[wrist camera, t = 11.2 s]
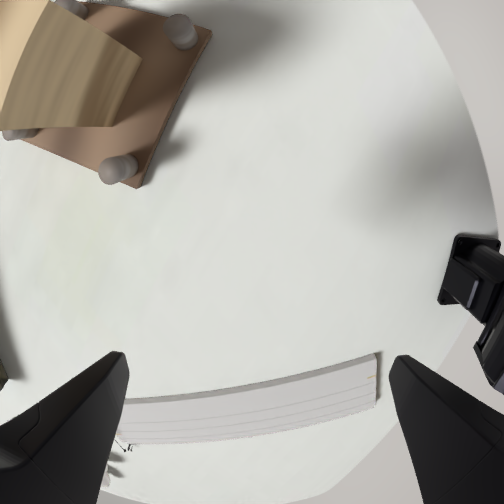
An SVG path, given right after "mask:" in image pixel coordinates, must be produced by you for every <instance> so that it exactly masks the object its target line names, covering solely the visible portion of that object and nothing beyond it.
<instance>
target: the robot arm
mask: <svg viewBox="0 0 504 504" xmlns="http://www.w3.org/2000/svg"><path fill="white" fill-rule="evenodd" d="M459 240H460V242H459ZM458 242H459V243H458ZM500 246H501V242H500V241H499V240H498V239H492V238H483V237H474V236H464V235H457V236H456V237H455V238H454V242H453V246H452V250H451V254H450V258H449V262H448V265H447V269H446V273H445V276H444V279H443V283H442V286H441V289H440V293H439V296H438V299H437V301H438V302H439V303H440V304H441V305H450V304H461V305H462V306H463V307H464V308H465V309H466V310H468V311H469V312H470V313H471V314H472V315H473V316H474V317H475V318H476V319H477V320H478V321H479V322H480V323H482V324H483V325H484V326H485V328H484V330H483V332H482V333H481V335H480V337H479V339H478V341H477V342H476V343H475V345H474V347H473V348H474V350H475V352H476V354H477V357H478V359H479V361H480V364H481V366H482V369H483V371H484V373H485V376H486V378H487V380H488V382H489V384H490V385H491V386H492V387H493V388H494V389H495V390H497V391H499V392H501V393H502V394H503V395H504V256H503V255H502V254H500V253H499V250H500ZM442 299H443V300H442ZM128 381H129V368H128V364H127V360H126V357H125V354H124V353H123V352H117V351H111V352H110V353H108V354H107V355H105V356H104V357H103V358H101V359H100V360H98V361H97V362H95V363H94V364H93V365H91V366H90V367H88V368H87V369H85V370H84V371H83V372H81V373H80V374H78V375H77V376H75V377H74V378H72V379H71V380H70V381H68V382H67V383H65V384H64V385H62V386H61V387H60V388H58V389H57V390H55V391H54V392H52V393H51V394H49V395H48V396H47V397H45V398H44V399H42V400H41V401H40V402H39V403H36V404H35V405H34V406H32V407H31V408H29V409H28V410H26V411H25V412H23V413H22V414H20V415H18V416H17V417H15V418H13V419H11V420H10V421H8V422H6V423H4V424H2V425H1V426H0V504H96V502H97V498H98V494H99V490H100V487H101V483H102V479H103V476H104V472H105V468H106V465H107V461H108V458H109V454H110V451H111V448H112V444H113V441H114V438H115V434H116V431H117V428H118V425H119V422H120V418H121V415H122V410H123V405H124V400H125V395H126V390H127V385H128ZM389 382H390V386H391V390H392V394H393V399H394V403H395V407H396V412H397V415H398V419H399V422H400V425H401V428H402V431H403V433H404V437H405V440H406V443H407V446H408V450H409V453H410V456H411V459H412V463H413V466H414V469H415V473H416V476H417V480H418V483H419V487H420V491H421V495H422V499H423V503H424V504H504V415H503V414H501V413H499V412H497V411H496V410H494V409H492V408H491V407H489V406H487V405H486V404H484V403H483V402H481V401H479V400H478V399H476V398H475V397H473V396H472V395H470V394H469V393H467V392H465V391H463V390H462V389H461V388H459V387H458V386H456V385H454V384H453V383H451V382H450V381H448V380H447V379H445V378H443V377H442V376H440V375H439V374H437V373H436V372H434V371H432V370H431V369H429V368H428V367H426V366H425V365H423V364H421V363H420V362H418V361H417V360H415V359H414V358H412V357H410V356H409V355H399V356H397V357H396V358H395V360H394V363H393V365H392V368H391V370H390V373H389Z"/></svg>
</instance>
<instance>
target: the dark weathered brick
mask: <svg viewBox="0 0 504 504" xmlns="http://www.w3.org/2000/svg"><path fill="white" fill-rule="evenodd" d="M7 381H8V377H7V375H6V372H5V370H4V368H3V365H2V363H1V360H0V391H1V390H2V388H3V387H4V385H5V383H6V382H7Z"/></svg>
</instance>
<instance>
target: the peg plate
mask: <svg viewBox="0 0 504 504" xmlns="http://www.w3.org/2000/svg"><path fill="white" fill-rule="evenodd" d="M54 3H56V4H57V5H59V6H61V7H63V8H64V9H66V10H68V11H70V12H71V13H73V14H75V15H76V16H78V17H80V18H81V19H83V20H85V21H86V22H88V23H90V24H91V25H93V26H94V27H96V28H98V29H99V30H101V31H102V32H104V33H105V34H107V35H108V36H110V37H111V38H113V39H115V40H116V41H118V42H119V43H121V44H122V45H124V46H125V47H126V48H128V49H129V50H131V51H132V52H134V53H135V54H137V55H138V56H139V57H141V58H142V59H143V60H142V62H141V64H140V66H139V68H138V70H137V72H136V74H135V76H134V78H133V80H132V82H131V84H130V86H129V88H128V91H127V93H126V95H125V97H124V100H123V102H122V104H121V106H120V109H119V111H118V114H117V116H116V118H115V121H114V123H113V126H112V127H51V128H32V129H18V130H6V131H2V134H3V137H4V139H5V140H7V141H9V140H17V139H21V140H23V141H25V142H28V143H30V144H33V145H35V146H37V147H40V148H42V149H44V150H47V151H49V152H51V153H54V154H56V155H59V156H61V157H63V158H66V159H68V160H70V161H73V162H75V163H77V164H80V165H82V166H84V167H87V168H89V169H91V170H94V171H96V172H98V173H99V177H100V179H101V180H102V181H103V182H104V183H105V184H108V185H112V184H115V183H118V182H121V183H124V184H126V185H128V186H131V187H133V188H135V189H138V188H140V187H141V184H142V182H143V179H144V176H145V174H146V171H147V169H148V166H149V164H150V161H151V159H152V156H153V154H154V151H155V149H156V146H157V144H158V142H159V139H160V137H161V135H162V132H163V130H164V128H165V125H166V123H167V121H168V119H169V117H170V114H171V112H172V110H173V108H174V106H175V104H176V102H177V100H178V98H179V96H180V93H181V91H182V89H183V87H184V85H185V83H186V81H187V80H188V78H189V76H190V74H191V72H192V70H193V68H194V66H195V64H196V62H197V61H198V59H199V57H200V55H201V53H202V52H203V50H204V48H205V46H206V44H207V43H208V41H209V39H210V38H211V36H212V31H211V30H208V29H205V28H202V27H199V26H196V25H193V24H192V22H191V20H190V19H189V17H188V16H186V15H184V14H175V15H172V16H170V17H169V18H168V17H164V16H160V15H156V14H152V13H147V12H143V11H138V10H133V9H128V8H123V7H117V6H111V5H104V4H97V3H88V2H79V1H76V0H56V1H55V2H54Z"/></svg>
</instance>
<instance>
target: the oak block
mask: <svg viewBox="0 0 504 504" xmlns="http://www.w3.org/2000/svg"><path fill="white" fill-rule="evenodd" d="M142 60H143V59H142V58H141V57H139V56H138V55H137V54H135V53H134V52H132V51H131V50H129V49H128V48H126V47H125V46H124V45H122V44H121V43H119V42H118V41H116V40H115V39H113V38H111V37H110V36H108V35H107V34H105V33H104V32H102V31H101V30H99V29H98V28H96V27H94V26H93V25H91V24H90V23H88V22H86V21H85V20H83V19H81V18H80V17H78V16H76V15H75V14H73V13H71V12H70V11H68V10H66V9H64V8H63V7H61V6H59V5H57V4H56V3H54V2H52V1H50V0H1V1H0V131H6V130H18V129H32V128H51V127H112V126H113V123H114V121H115V118H116V116H117V114H118V111H119V109H120V106H121V104H122V102H123V100H124V97H125V95H126V93H127V91H128V88H129V86H130V84H131V82H132V80H133V78H134V76H135V74H136V72H137V70H138V68H139V66H140V64H141V62H142Z"/></svg>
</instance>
